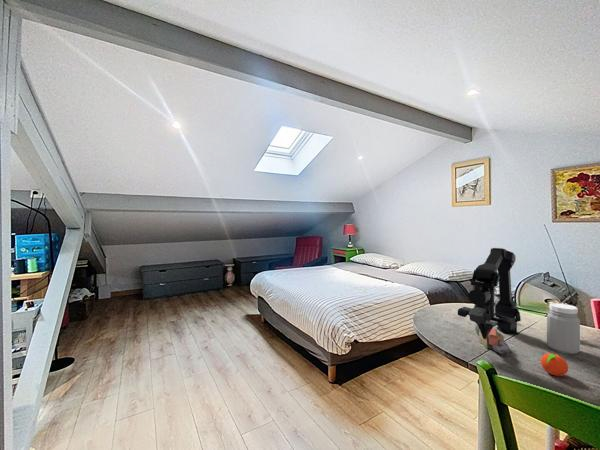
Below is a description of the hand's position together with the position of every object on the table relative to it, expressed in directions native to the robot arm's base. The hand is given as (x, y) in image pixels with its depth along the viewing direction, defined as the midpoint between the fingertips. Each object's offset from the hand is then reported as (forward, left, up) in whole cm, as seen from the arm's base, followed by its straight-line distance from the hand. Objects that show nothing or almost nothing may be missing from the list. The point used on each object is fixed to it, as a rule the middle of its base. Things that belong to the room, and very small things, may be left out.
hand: (484, 338), depth 107 cm
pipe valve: (-6, -9, -6) cm, 13 cm away
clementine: (-16, +11, -7) cm, 21 cm away
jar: (-33, -10, -7) cm, 35 cm away
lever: (-4, -3, -1) cm, 5 cm away
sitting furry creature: (-23, -45, -7) cm, 51 cm away
